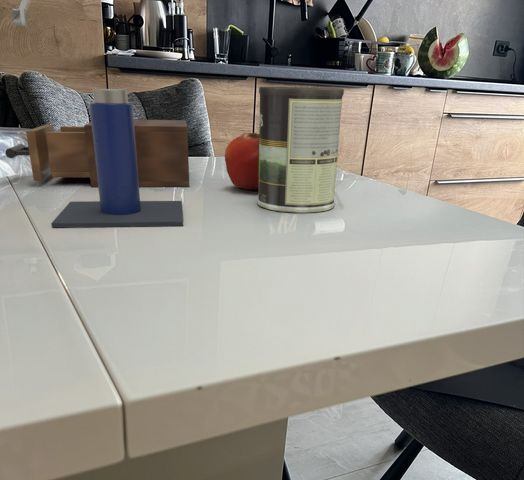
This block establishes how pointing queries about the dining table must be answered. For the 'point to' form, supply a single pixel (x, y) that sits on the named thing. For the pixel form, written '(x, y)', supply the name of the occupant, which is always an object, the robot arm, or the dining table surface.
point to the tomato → (243, 161)
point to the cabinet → (153, 153)
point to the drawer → (55, 152)
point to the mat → (93, 217)
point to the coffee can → (298, 148)
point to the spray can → (115, 151)
